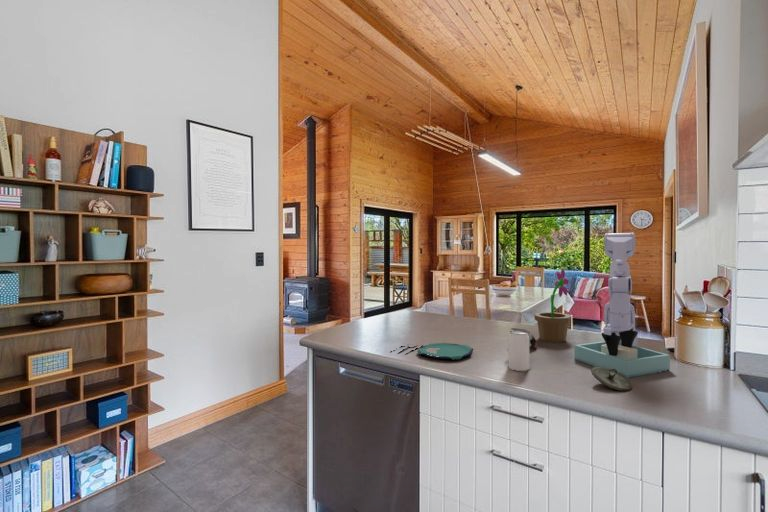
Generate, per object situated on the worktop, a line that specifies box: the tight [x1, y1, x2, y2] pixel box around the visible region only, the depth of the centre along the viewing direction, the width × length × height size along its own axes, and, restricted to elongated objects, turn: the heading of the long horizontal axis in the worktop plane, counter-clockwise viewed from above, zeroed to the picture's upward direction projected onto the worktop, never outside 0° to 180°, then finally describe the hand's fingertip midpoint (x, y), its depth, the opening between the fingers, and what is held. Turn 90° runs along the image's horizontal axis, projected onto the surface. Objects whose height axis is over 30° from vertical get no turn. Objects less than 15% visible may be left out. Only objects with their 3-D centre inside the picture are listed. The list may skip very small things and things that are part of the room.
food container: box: [510, 327, 532, 348], centre depth 134 cm, size 12×6×10 cm, turn 168°
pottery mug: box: [523, 328, 539, 350], centre depth 151 cm, size 12×10×8 cm
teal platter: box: [417, 342, 474, 361], centre depth 147 cm, size 20×30×2 cm, turn 58°
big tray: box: [574, 340, 671, 379], centre depth 127 cm, size 18×20×5 cm
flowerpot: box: [533, 268, 572, 343], centre depth 161 cm, size 14×14×30 cm
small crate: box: [601, 344, 637, 360], centre depth 128 cm, size 5×9×5 cm, turn 29°
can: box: [507, 330, 530, 372], centre depth 125 cm, size 6×6×12 cm
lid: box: [590, 366, 632, 392], centre depth 110 cm, size 11×10×5 cm
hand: (619, 353), depth 127 cm, fingers open, 7 cm apart
